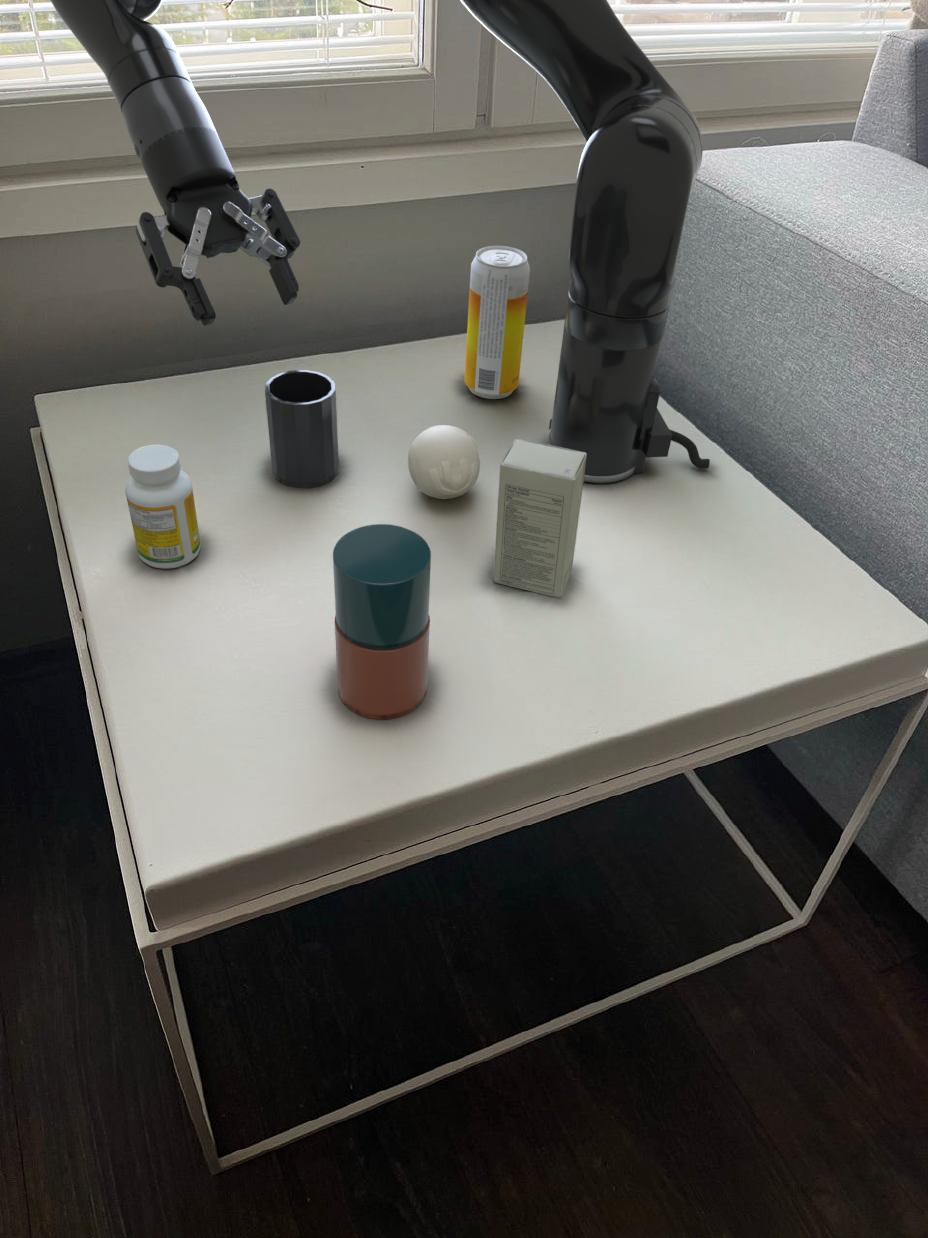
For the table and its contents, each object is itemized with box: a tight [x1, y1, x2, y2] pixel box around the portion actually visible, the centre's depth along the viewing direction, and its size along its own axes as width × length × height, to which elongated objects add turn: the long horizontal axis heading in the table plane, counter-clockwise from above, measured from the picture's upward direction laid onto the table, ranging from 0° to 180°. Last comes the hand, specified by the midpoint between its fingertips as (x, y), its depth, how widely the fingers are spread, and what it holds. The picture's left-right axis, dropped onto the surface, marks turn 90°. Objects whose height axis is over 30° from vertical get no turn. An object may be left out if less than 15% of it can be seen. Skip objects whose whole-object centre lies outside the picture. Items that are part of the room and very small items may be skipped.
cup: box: [264, 369, 340, 489], centre depth 92 cm, size 6×6×9 cm
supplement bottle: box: [124, 444, 202, 570], centre depth 82 cm, size 5×5×10 cm
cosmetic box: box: [492, 438, 587, 598], centre depth 81 cm, size 6×4×12 cm
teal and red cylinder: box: [332, 523, 432, 720], centre depth 70 cm, size 7×7×13 cm
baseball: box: [407, 424, 481, 500], centre depth 91 cm, size 7×7×7 cm
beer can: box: [463, 245, 531, 400], centre depth 104 cm, size 6×6×15 cm
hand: (252, 311), depth 91 cm, fingers open, 8 cm apart
